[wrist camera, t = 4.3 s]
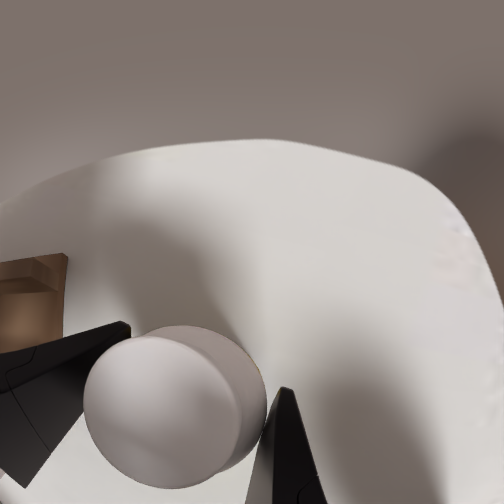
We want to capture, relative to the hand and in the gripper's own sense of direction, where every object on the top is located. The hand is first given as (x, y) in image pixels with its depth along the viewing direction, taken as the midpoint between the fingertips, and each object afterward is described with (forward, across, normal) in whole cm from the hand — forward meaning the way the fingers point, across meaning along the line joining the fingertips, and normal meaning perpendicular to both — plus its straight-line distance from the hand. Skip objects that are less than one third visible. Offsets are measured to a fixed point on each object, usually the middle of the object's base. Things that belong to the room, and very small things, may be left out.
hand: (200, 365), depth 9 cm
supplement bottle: (+4, 0, +6) cm, 7 cm away
